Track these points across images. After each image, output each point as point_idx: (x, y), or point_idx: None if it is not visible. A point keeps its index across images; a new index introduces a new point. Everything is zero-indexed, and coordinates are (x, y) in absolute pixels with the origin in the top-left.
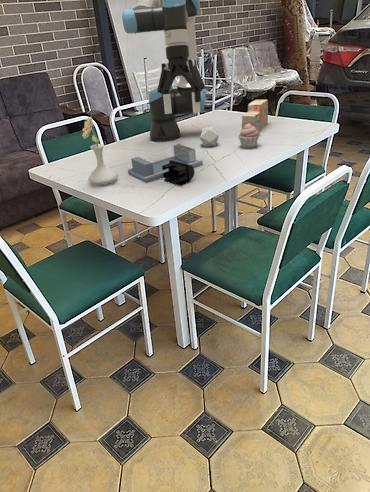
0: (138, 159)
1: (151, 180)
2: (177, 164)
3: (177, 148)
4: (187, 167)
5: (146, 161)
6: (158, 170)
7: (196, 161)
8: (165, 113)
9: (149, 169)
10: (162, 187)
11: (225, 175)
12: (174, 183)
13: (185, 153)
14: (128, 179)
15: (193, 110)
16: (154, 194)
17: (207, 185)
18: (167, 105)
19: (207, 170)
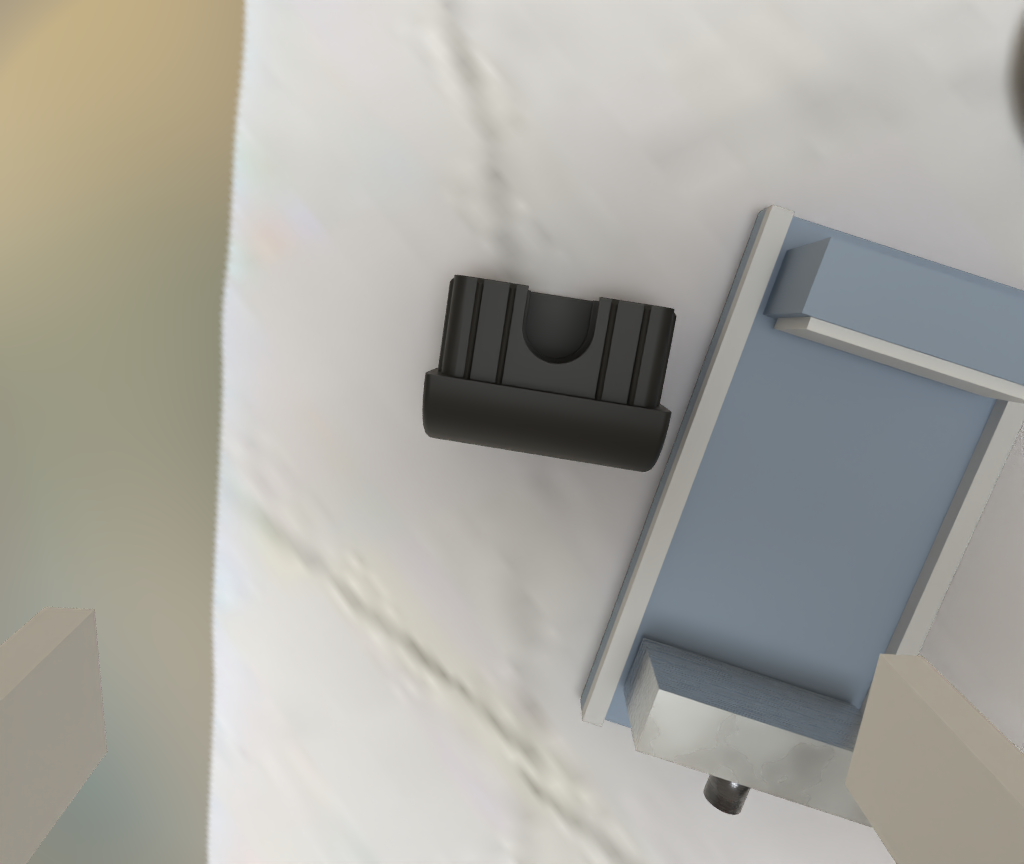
0: (1007, 334)
1: (742, 260)
2: (554, 384)
3: (836, 741)
4: (437, 373)
5: (886, 321)
6: (805, 426)
7: (608, 679)
8: (913, 662)
9: (797, 278)
10: (578, 202)
11: (305, 586)
12: (532, 292)
13: (709, 690)
14: (958, 210)
15: (48, 639)
16: (545, 63)
17: (304, 380)
18: (976, 830)
19: (481, 620)
